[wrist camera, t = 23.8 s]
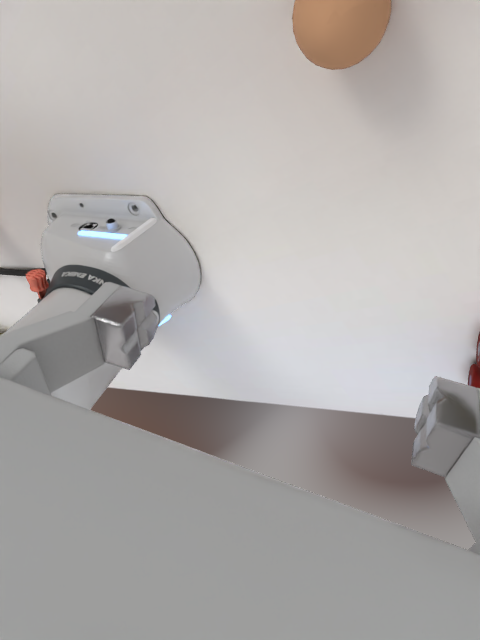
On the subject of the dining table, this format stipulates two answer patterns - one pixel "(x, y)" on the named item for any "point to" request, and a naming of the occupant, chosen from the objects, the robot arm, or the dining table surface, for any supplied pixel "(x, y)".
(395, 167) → the dining table surface
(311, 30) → the egg
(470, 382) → the toy fire truck
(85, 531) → the robot arm
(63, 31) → the dining table surface
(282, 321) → the dining table surface
